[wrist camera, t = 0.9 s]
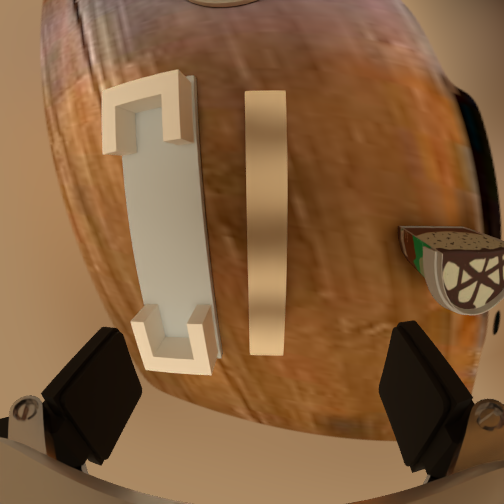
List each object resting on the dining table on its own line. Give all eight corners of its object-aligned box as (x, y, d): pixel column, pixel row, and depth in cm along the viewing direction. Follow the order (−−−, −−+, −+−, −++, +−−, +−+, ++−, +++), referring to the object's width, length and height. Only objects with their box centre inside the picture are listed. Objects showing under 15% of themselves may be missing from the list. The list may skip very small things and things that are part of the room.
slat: (250, 108, 24) (244, 91, 18) (282, 108, 24) (285, 90, 18) (254, 322, 30) (249, 354, 24) (281, 322, 30) (283, 355, 24)
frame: (125, 94, 24) (100, 84, 19) (196, 78, 23) (180, 60, 18) (160, 350, 32) (145, 374, 27) (222, 353, 31) (215, 380, 26)
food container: (380, 282, 27) (421, 330, 18) (385, 225, 26) (436, 254, 16) (464, 276, 26) (513, 311, 17) (471, 226, 25) (527, 249, 15)
